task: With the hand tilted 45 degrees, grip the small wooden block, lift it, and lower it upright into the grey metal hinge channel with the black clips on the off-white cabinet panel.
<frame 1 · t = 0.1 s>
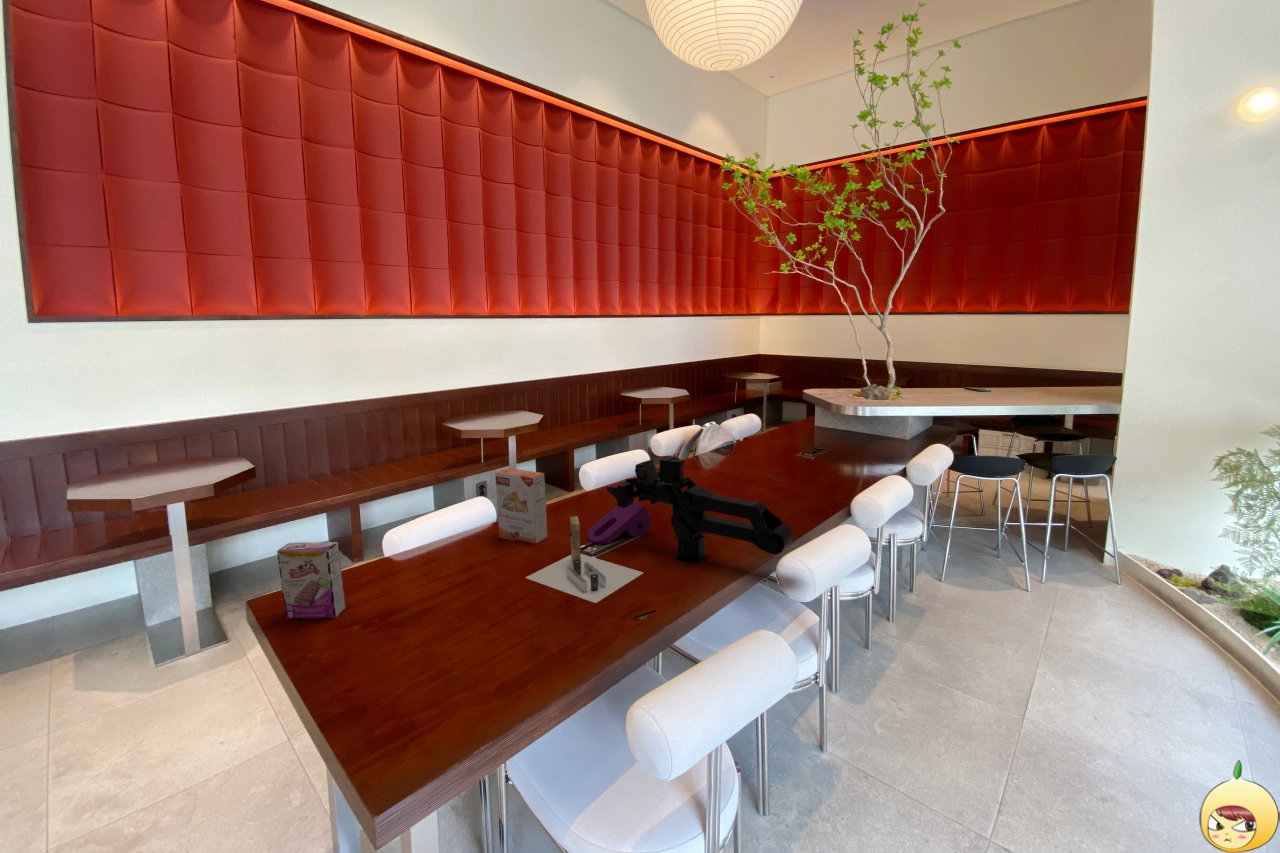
hand: (616, 484, 169), 17 cm above the table, tool horizontal, fingers open, 9 cm apart
cookie: (642, 606, 133), on the table
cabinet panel: (584, 578, 146), on the table
cracker box: (523, 540, 172), on the table
hinge channel: (585, 581, 142), resting on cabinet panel
candy bar box: (316, 615, 130), on the table
mounting bracket: (616, 538, 173), on the table
wooden block: (576, 563, 153), point 1 cm above the table, touching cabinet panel
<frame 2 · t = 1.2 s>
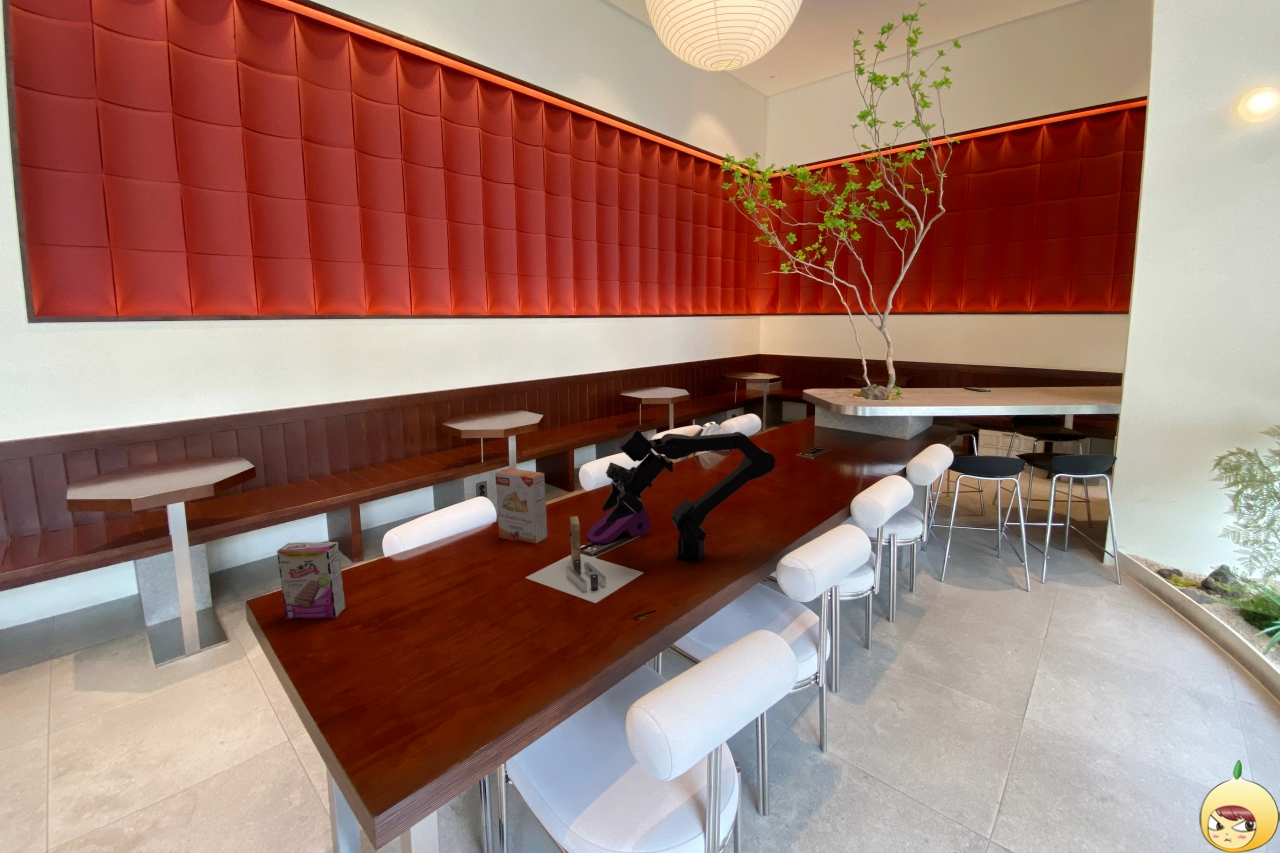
hand: (604, 515, 152), 14 cm above the table, tool tilted 45°, fingers open, 9 cm apart
nothing on the table moved.
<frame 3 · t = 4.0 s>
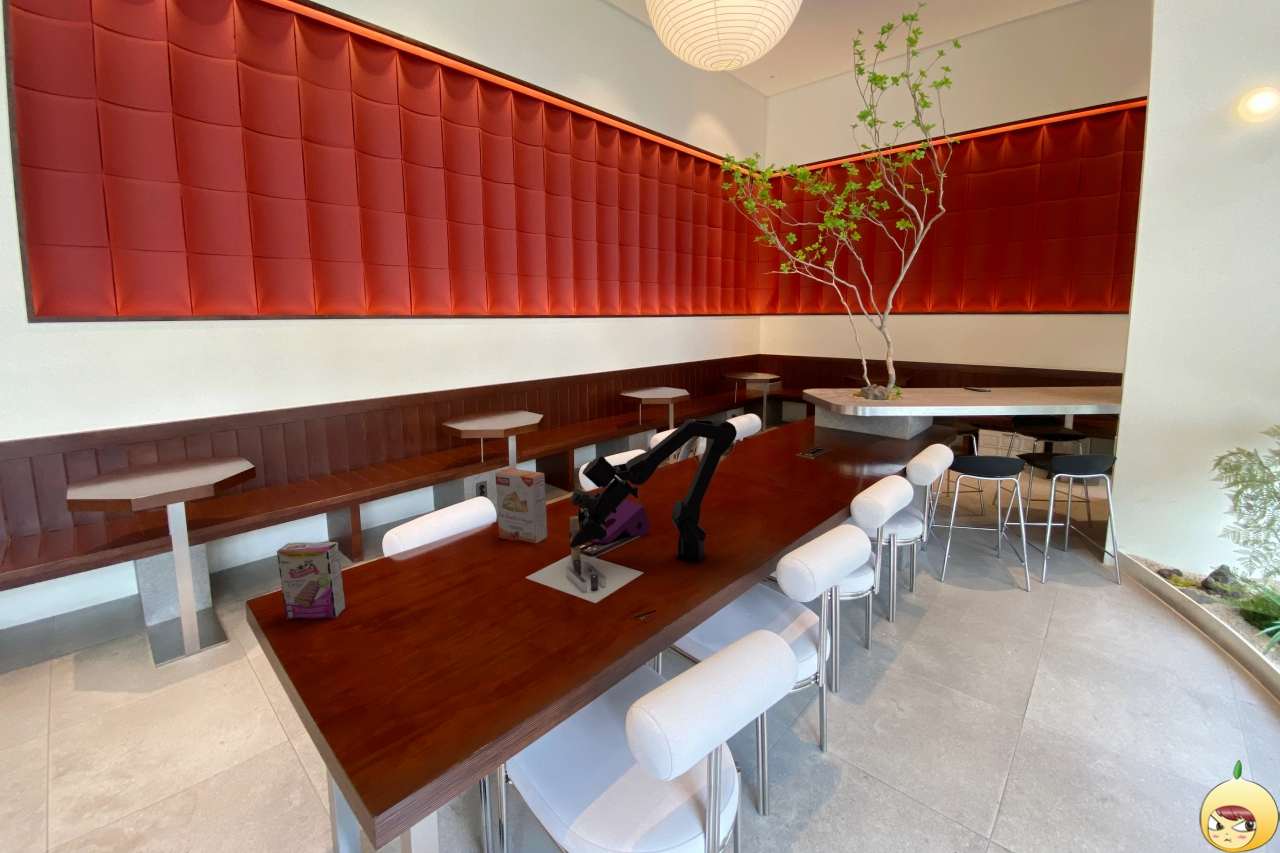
hand: (570, 541, 151), 7 cm above the table, tool tilted 45°, fingers closed on wooden block, 6 cm apart
wooden block: (576, 563, 153), point 1 cm above the table, touching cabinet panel, gripper
everything else where it was.
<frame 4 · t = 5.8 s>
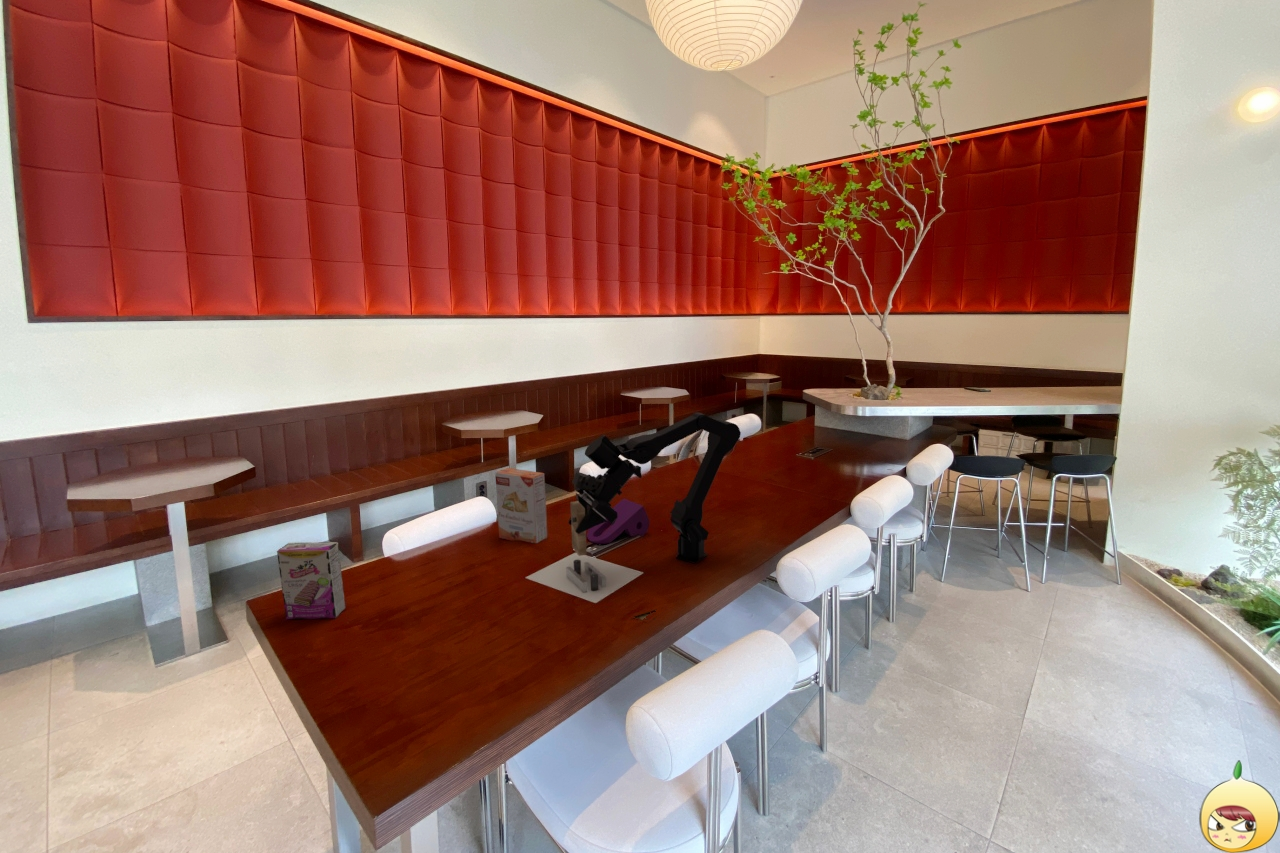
hand: (573, 528, 143), 13 cm above the table, tool tilted 45°, fingers closed on wooden block, 6 cm apart
wooden block: (579, 550, 145), point 7 cm above the table, touching gripper
everything else where it was.
when the fingers open (9 cm above the table, at t = 7.8 s): wooden block drops 1 cm, resting on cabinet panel.
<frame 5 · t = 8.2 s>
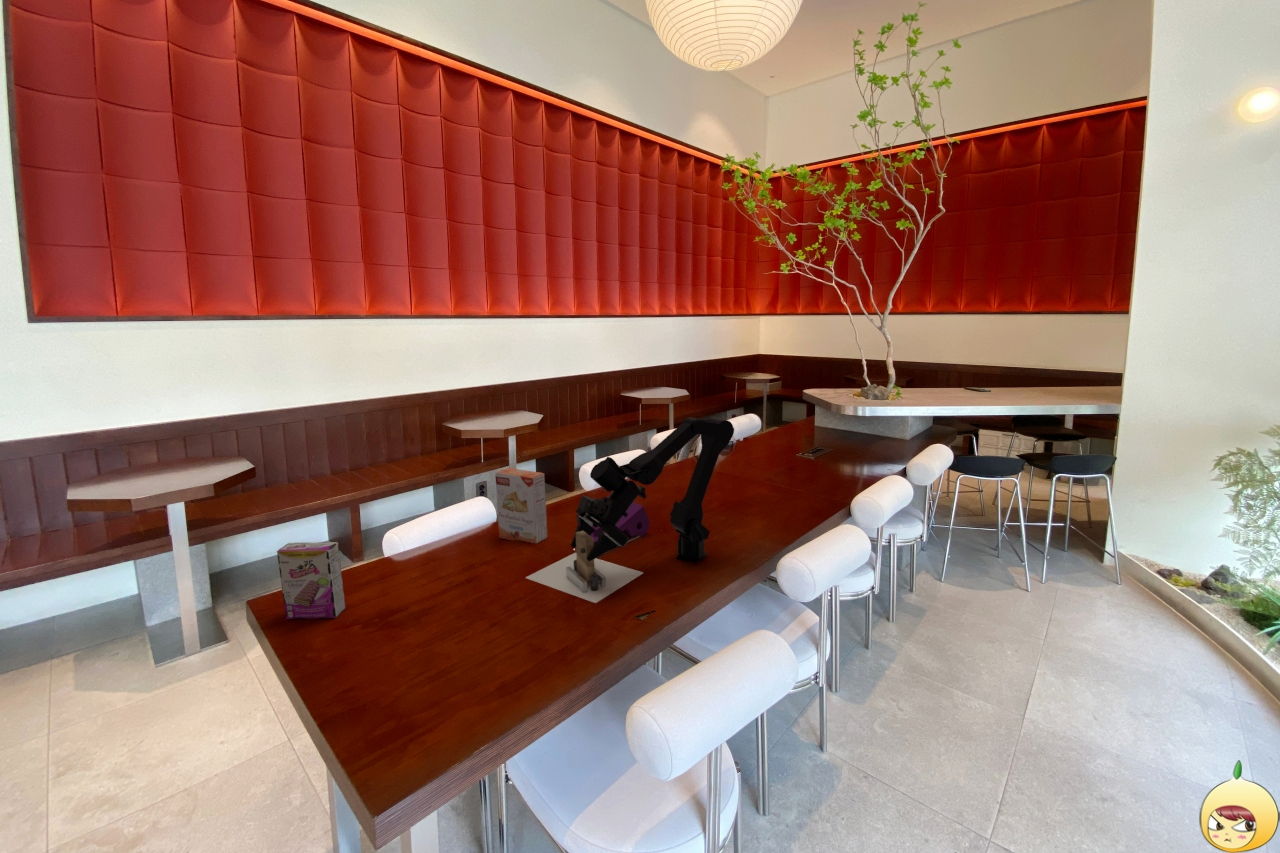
hand: (579, 553, 140), 9 cm above the table, tool tilted 45°, fingers open, 9 cm apart
wooden block: (585, 581, 142), point 1 cm above the table, touching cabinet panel
everything else where it was.
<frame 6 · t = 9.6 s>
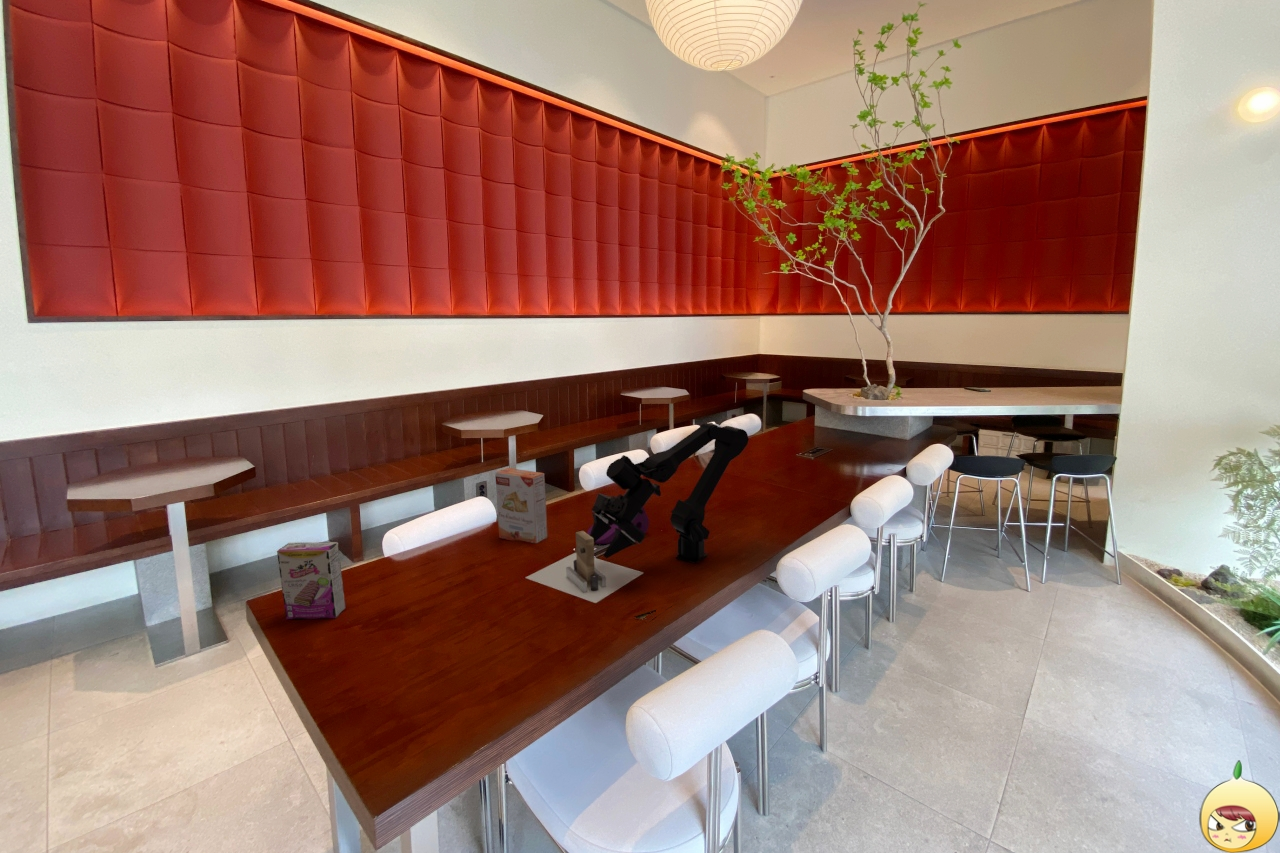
hand: (596, 550, 142), 8 cm above the table, tool tilted 45°, fingers open, 9 cm apart
nothing on the table moved.
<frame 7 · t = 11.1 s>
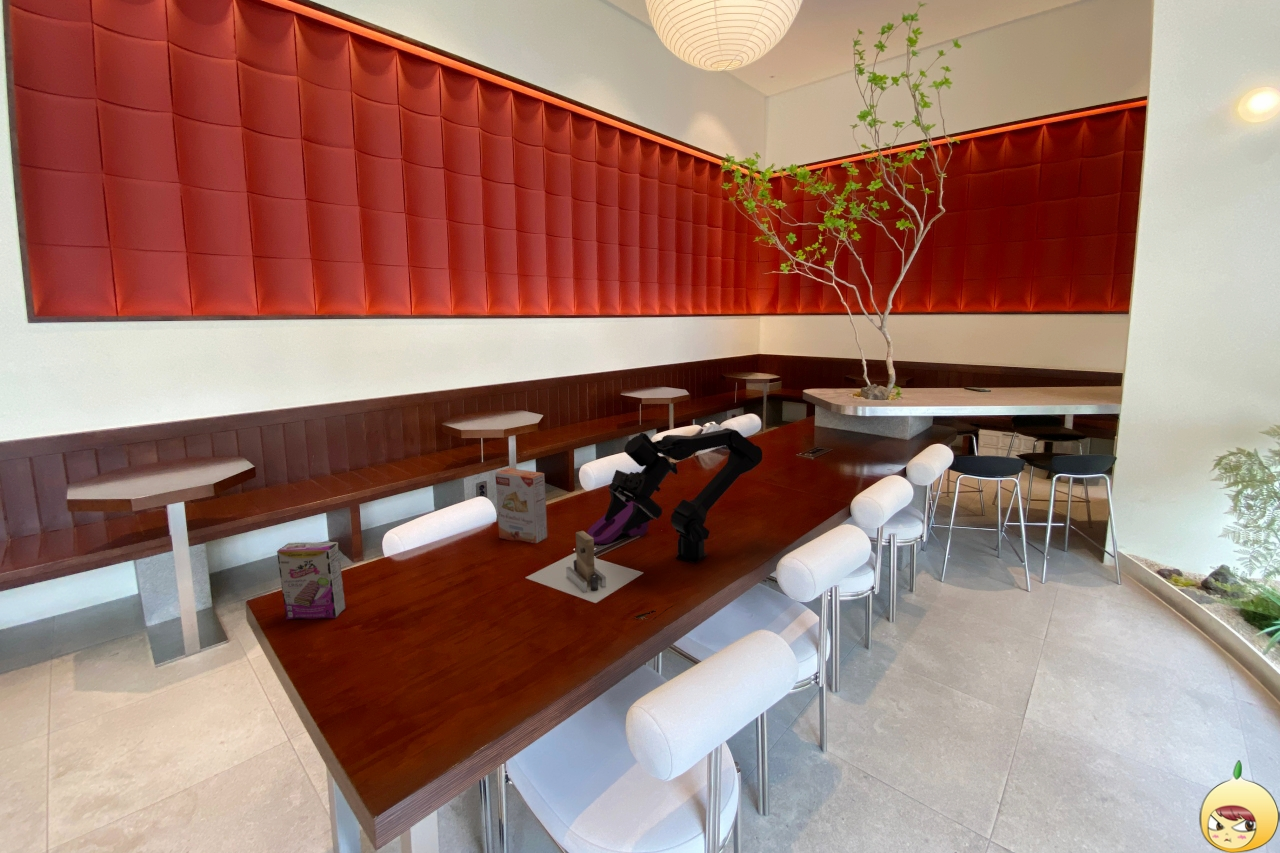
hand: (613, 526, 144), 14 cm above the table, tool tilted 45°, fingers open, 9 cm apart
nothing on the table moved.
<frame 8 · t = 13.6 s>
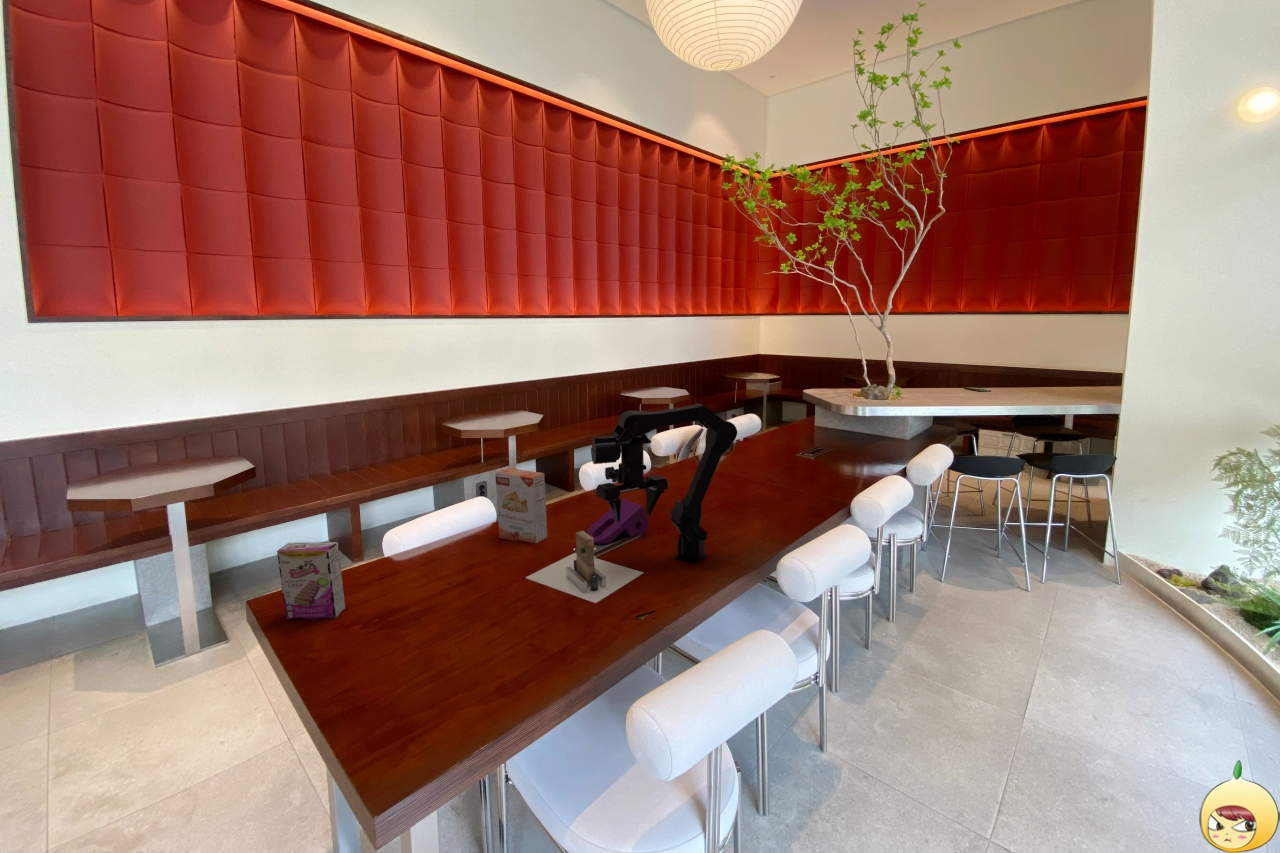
hand: (633, 518, 151), 13 cm above the table, tool pointing down, fingers open, 9 cm apart
nothing on the table moved.
at the end: wooden block 0.0 cm off-centre on the hinge channel, point 0.0 cm above the hinge channel's base; wooden block tilted 0°; the gripper is holding nothing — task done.
